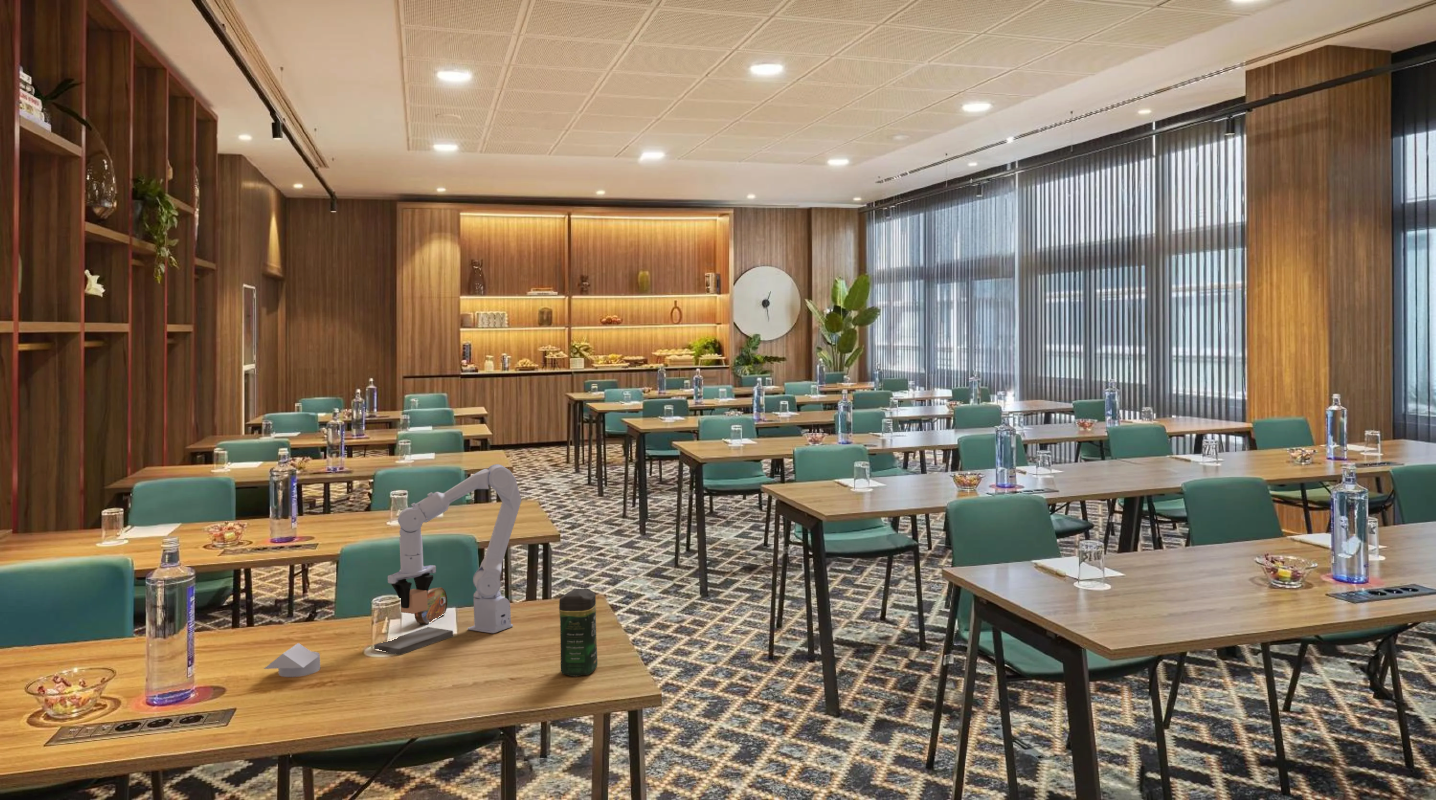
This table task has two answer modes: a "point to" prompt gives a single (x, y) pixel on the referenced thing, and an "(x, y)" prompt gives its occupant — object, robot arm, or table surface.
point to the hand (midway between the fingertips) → (413, 605)
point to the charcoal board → (414, 640)
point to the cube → (416, 601)
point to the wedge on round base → (296, 662)
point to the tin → (433, 606)
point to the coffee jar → (578, 632)
